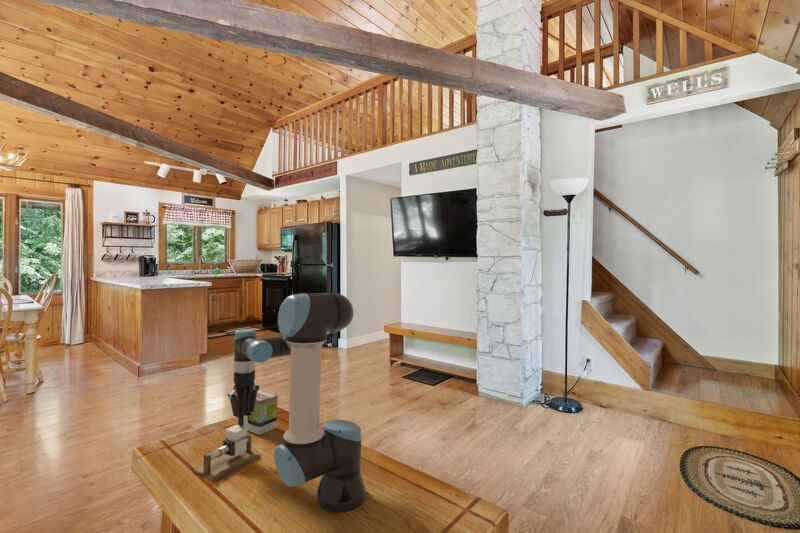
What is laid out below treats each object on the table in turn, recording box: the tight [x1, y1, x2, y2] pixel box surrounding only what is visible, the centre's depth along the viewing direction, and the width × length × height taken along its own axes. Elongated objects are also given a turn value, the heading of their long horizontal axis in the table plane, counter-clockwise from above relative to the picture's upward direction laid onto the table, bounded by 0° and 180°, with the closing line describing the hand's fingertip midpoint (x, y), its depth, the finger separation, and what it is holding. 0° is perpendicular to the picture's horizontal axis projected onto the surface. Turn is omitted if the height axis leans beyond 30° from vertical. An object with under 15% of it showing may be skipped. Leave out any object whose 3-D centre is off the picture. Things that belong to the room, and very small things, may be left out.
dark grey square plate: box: [222, 438, 235, 456], centre depth 138 cm, size 5×1×5 cm, turn 64°
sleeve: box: [224, 424, 248, 456], centre depth 141 cm, size 5×5×9 cm
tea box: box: [247, 389, 279, 436], centre depth 169 cm, size 15×10×15 cm, turn 58°
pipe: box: [208, 436, 249, 460], centre depth 138 cm, size 3×16×3 cm, turn 154°
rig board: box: [192, 433, 262, 482], centre depth 138 cm, size 12×19×7 cm, turn 154°
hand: (243, 433), depth 144 cm, fingers closed
